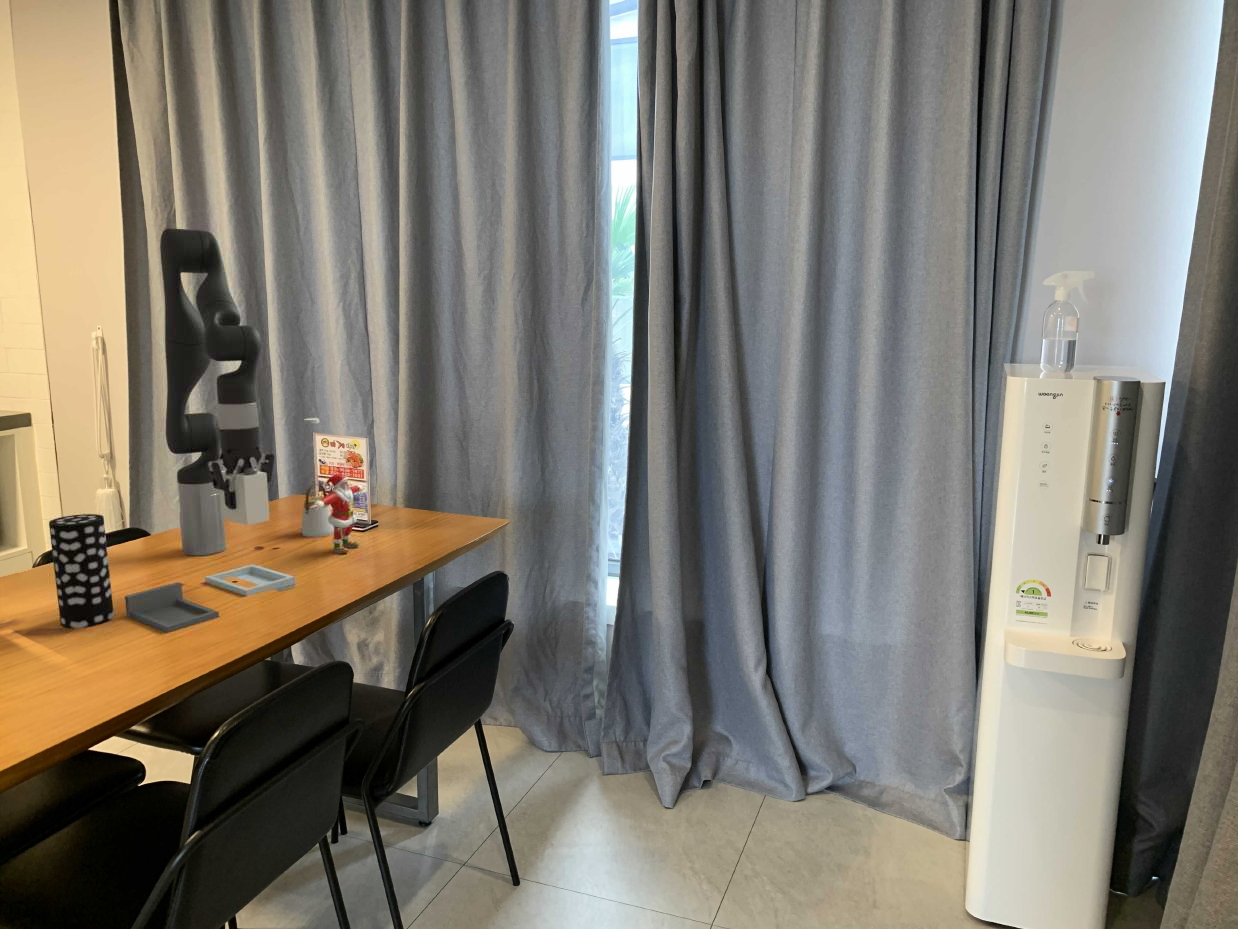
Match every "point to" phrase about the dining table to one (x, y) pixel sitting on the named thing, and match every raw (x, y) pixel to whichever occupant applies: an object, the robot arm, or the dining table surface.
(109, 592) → the white-spotted black cylinder
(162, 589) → the bay
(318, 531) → the white tall stand
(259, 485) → the white block with knob
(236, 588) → the tray
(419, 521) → the dining table surface
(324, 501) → the santa figurine
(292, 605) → the dining table surface
